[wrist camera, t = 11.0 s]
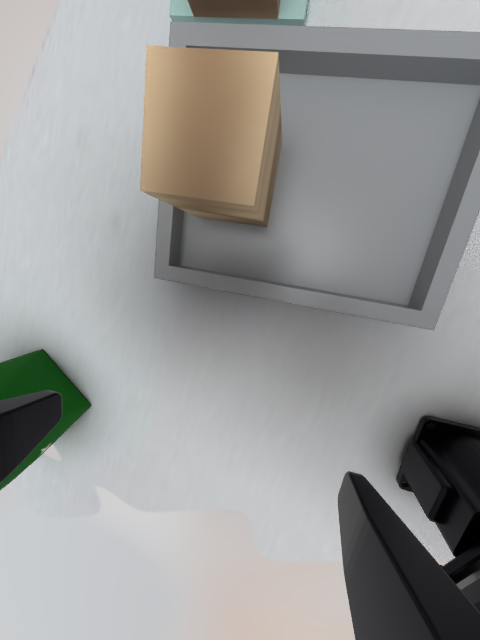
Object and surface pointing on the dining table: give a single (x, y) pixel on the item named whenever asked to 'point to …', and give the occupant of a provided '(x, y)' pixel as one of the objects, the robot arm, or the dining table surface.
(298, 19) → the teal pad
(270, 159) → the oak box
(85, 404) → the milk carton
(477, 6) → the dining table surface
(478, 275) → the dining table surface
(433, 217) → the tray
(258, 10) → the walnut box
